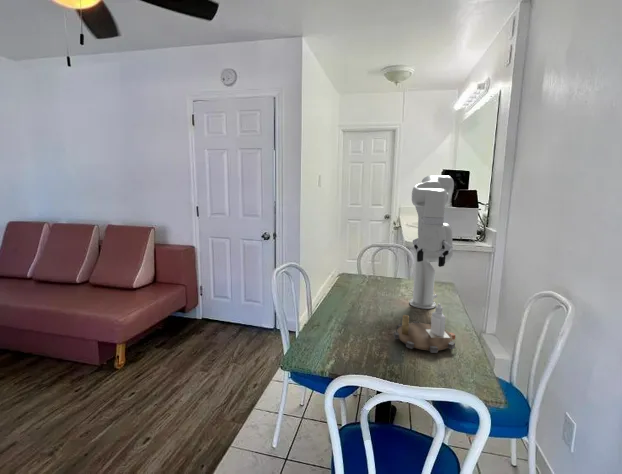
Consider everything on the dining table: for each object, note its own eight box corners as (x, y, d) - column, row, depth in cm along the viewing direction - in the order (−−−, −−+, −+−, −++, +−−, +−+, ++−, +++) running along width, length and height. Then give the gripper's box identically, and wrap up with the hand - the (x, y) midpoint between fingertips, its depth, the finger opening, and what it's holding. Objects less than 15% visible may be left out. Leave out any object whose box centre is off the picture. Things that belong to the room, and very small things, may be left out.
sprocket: (401, 352, 124) (403, 329, 122) (388, 324, 146) (389, 305, 145) (466, 353, 124) (468, 329, 122) (443, 325, 146) (444, 305, 145)
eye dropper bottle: (432, 336, 132) (434, 306, 130) (429, 330, 137) (432, 300, 135) (444, 337, 131) (447, 306, 129) (441, 330, 137) (443, 301, 135)
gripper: (409, 219, 142) (406, 260, 145) (448, 224, 129) (444, 269, 132) (420, 218, 147) (417, 258, 150) (459, 223, 134) (455, 266, 137)
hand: (430, 263), depth 141 cm, fingers open, 9 cm apart
